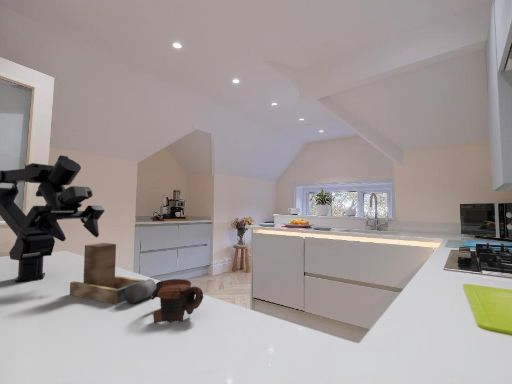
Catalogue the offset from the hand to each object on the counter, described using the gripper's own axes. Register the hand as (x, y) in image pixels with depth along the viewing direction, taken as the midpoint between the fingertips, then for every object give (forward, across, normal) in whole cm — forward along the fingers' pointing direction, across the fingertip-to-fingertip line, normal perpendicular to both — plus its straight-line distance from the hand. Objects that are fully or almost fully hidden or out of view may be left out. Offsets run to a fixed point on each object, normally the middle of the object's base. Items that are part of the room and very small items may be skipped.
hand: (81, 238), depth 74 cm
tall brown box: (+14, 0, +4) cm, 15 cm away
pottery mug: (+34, -3, -15) cm, 37 cm away
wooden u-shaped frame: (+18, 0, 0) cm, 18 cm away
